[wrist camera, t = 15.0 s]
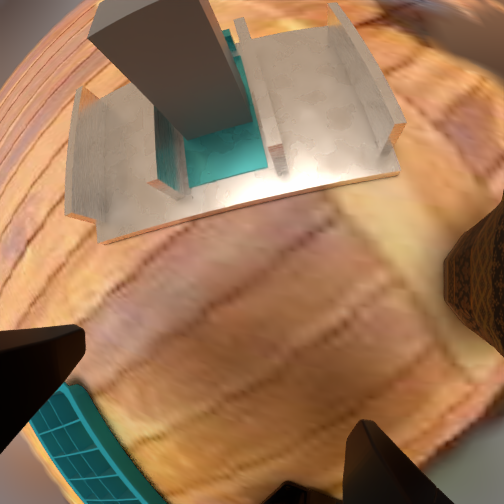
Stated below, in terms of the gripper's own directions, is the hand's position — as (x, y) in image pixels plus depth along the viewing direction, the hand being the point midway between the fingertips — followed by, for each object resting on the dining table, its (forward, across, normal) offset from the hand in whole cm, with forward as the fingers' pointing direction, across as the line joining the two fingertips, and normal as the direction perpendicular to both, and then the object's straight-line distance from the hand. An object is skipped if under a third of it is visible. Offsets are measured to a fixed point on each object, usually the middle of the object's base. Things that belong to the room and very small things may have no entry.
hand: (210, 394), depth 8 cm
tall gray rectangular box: (+14, +6, -11) cm, 19 cm away
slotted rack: (+15, +6, -10) cm, 20 cm away
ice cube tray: (+8, +10, +24) cm, 27 cm away
